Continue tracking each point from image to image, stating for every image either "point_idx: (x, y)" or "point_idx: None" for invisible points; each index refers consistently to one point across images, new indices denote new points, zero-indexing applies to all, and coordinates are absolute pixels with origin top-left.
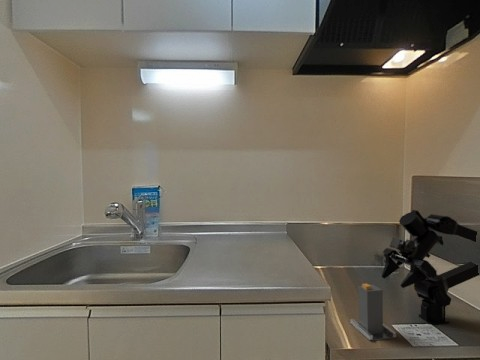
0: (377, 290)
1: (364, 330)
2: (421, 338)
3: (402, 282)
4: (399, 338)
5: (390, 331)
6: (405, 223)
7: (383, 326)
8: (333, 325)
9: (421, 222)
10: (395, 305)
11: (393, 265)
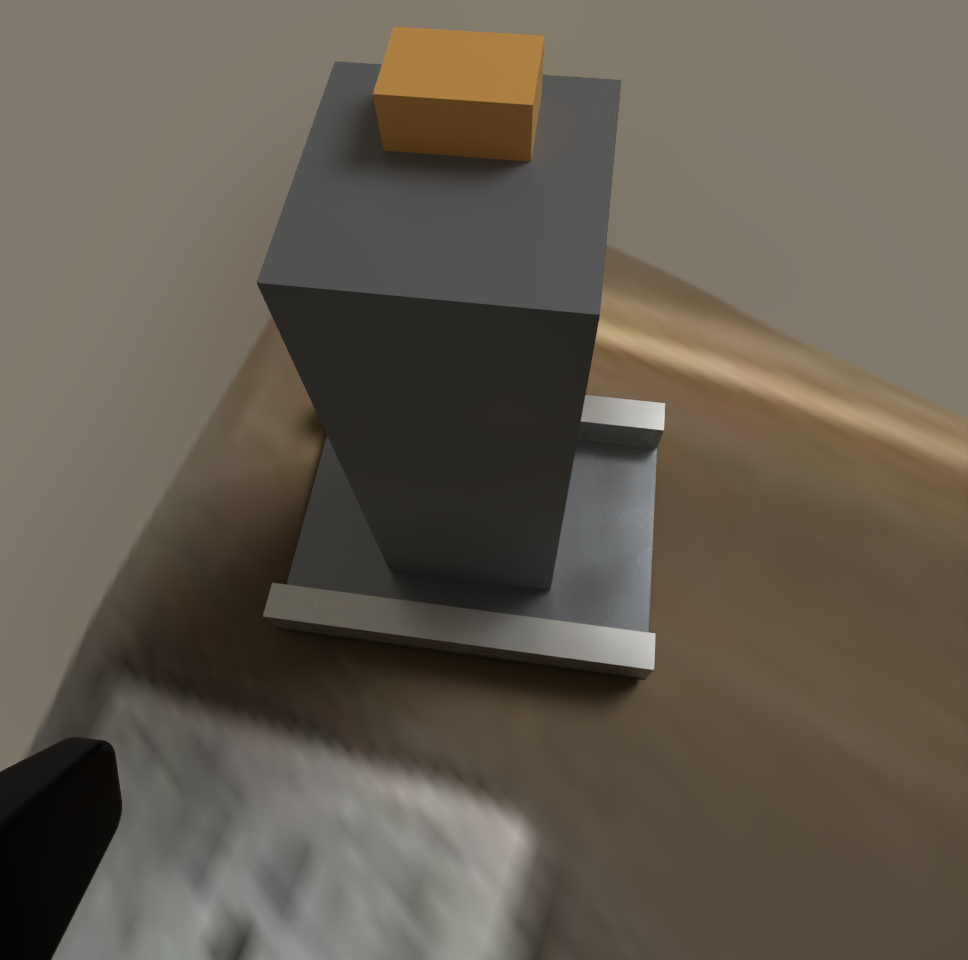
0: (288, 203)
1: None
2: (158, 895)
3: (4, 798)
4: (269, 666)
5: (311, 588)
6: None
7: (428, 605)
8: (675, 302)
9: None
10: None
11: None
